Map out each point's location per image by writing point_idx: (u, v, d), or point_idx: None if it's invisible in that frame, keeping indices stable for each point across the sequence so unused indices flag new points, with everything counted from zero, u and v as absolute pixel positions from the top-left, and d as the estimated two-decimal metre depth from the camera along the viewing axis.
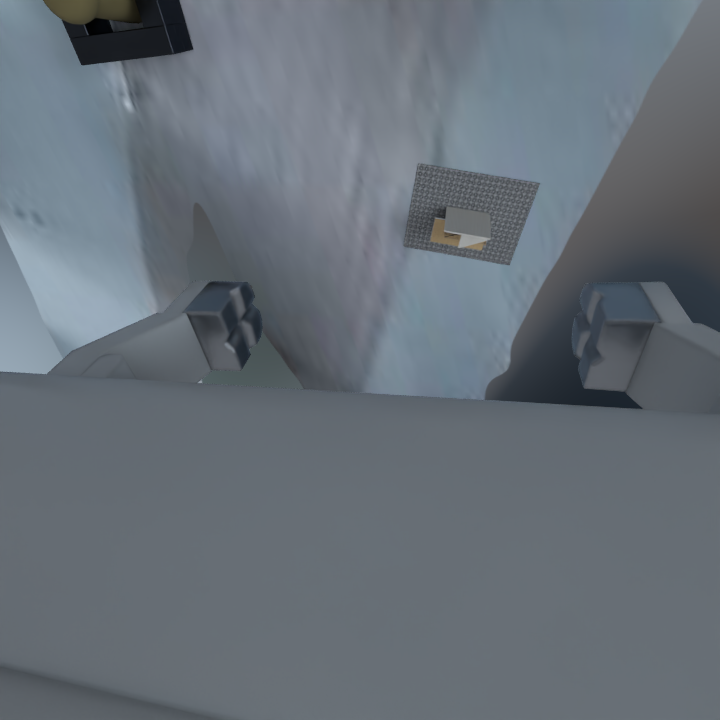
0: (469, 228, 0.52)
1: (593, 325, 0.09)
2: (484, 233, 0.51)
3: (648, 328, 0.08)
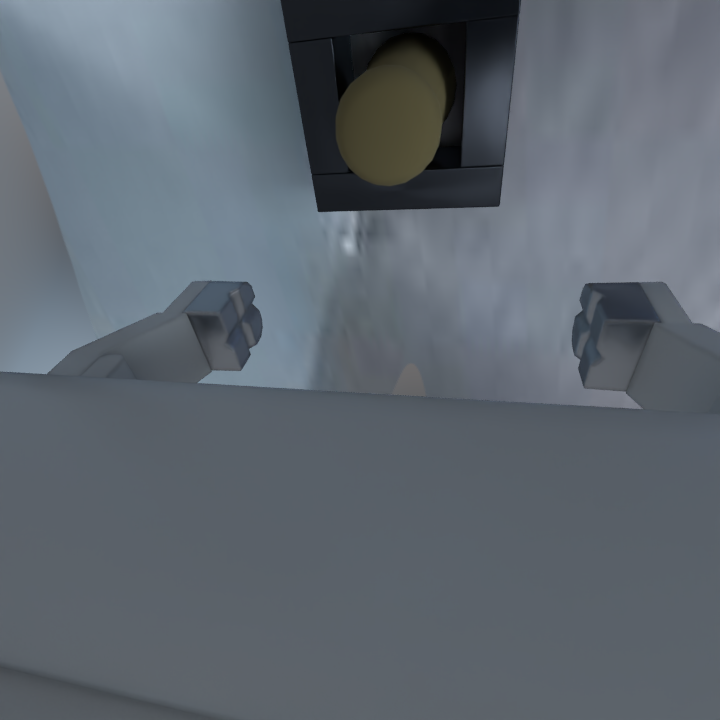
0: None
1: (594, 325, 0.09)
2: None
3: (649, 328, 0.08)
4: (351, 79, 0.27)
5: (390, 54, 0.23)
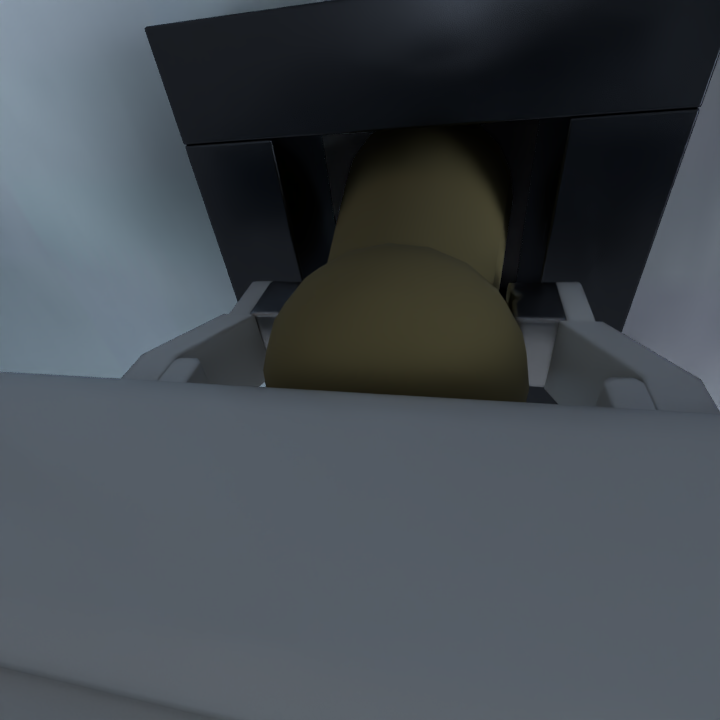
0: None
1: None
2: None
3: (557, 326, 0.08)
4: (323, 187, 0.15)
5: (395, 169, 0.11)
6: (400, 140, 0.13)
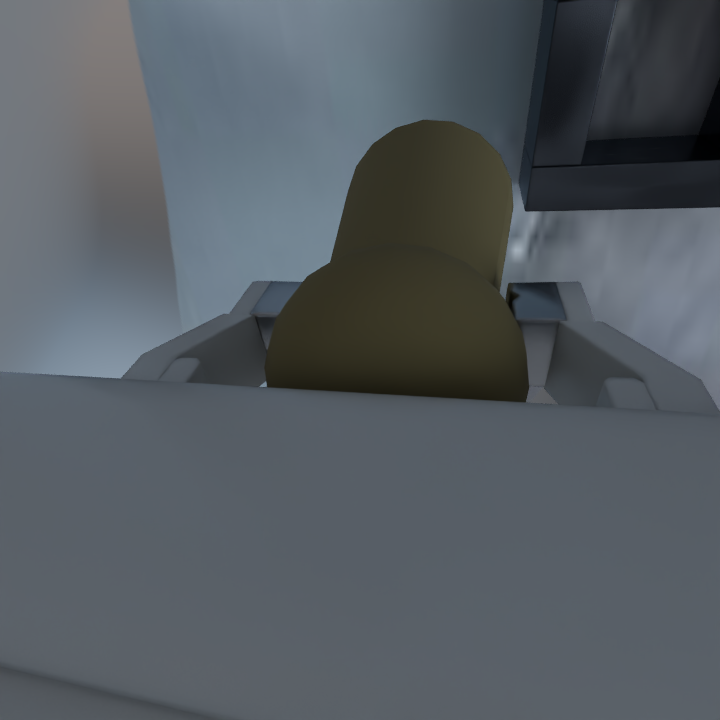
0: None
1: None
2: None
3: (558, 326, 0.08)
4: None
5: (397, 175, 0.11)
6: (402, 148, 0.13)
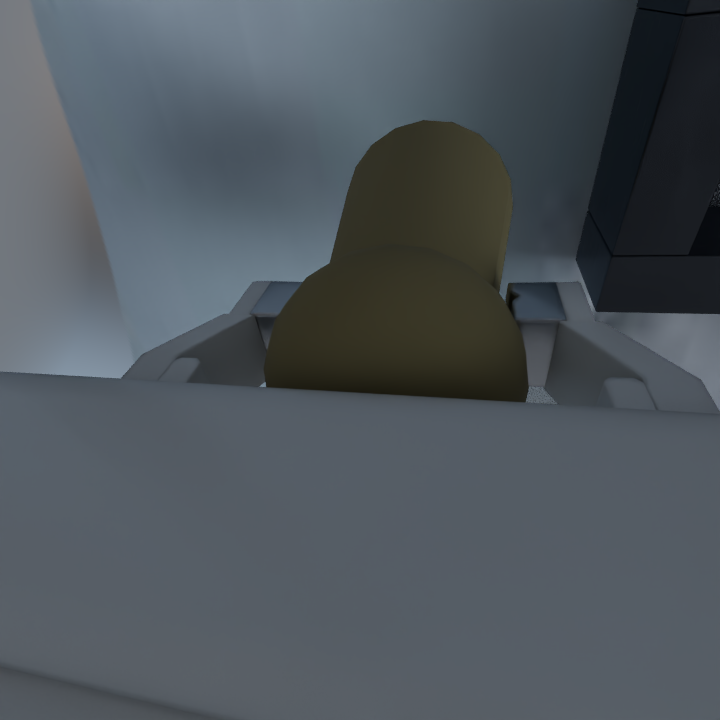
0: None
1: None
2: None
3: (558, 326, 0.08)
4: None
5: (396, 175, 0.11)
6: (402, 148, 0.13)
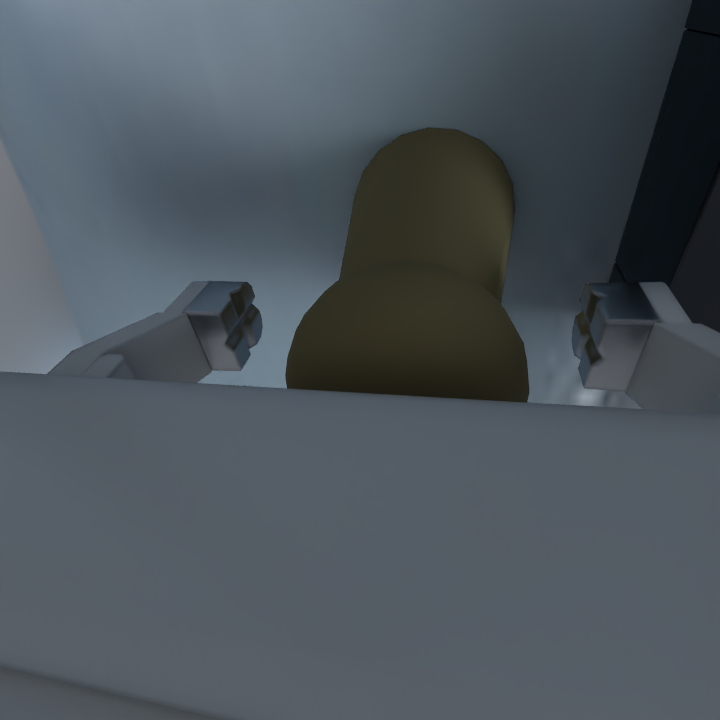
0: None
1: (593, 325, 0.09)
2: None
3: (648, 328, 0.08)
4: None
5: (404, 186, 0.12)
6: (408, 157, 0.13)
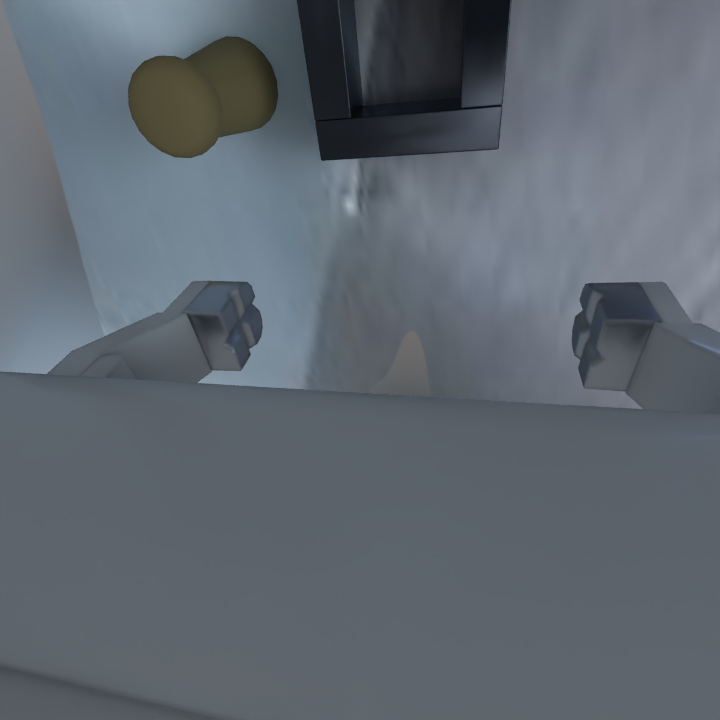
0: None
1: (593, 325, 0.09)
2: None
3: (649, 328, 0.08)
4: (354, 29, 0.28)
5: (198, 52, 0.28)
6: (208, 45, 0.29)
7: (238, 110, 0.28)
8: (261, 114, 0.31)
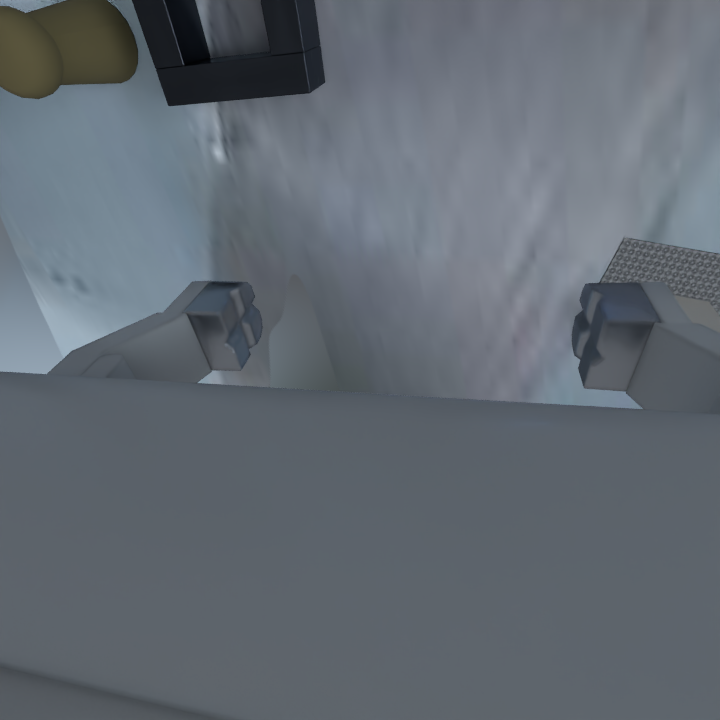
0: None
1: (593, 324, 0.09)
2: None
3: (649, 328, 0.08)
4: None
5: None
6: None
7: (85, 59, 0.32)
8: (119, 65, 0.35)
